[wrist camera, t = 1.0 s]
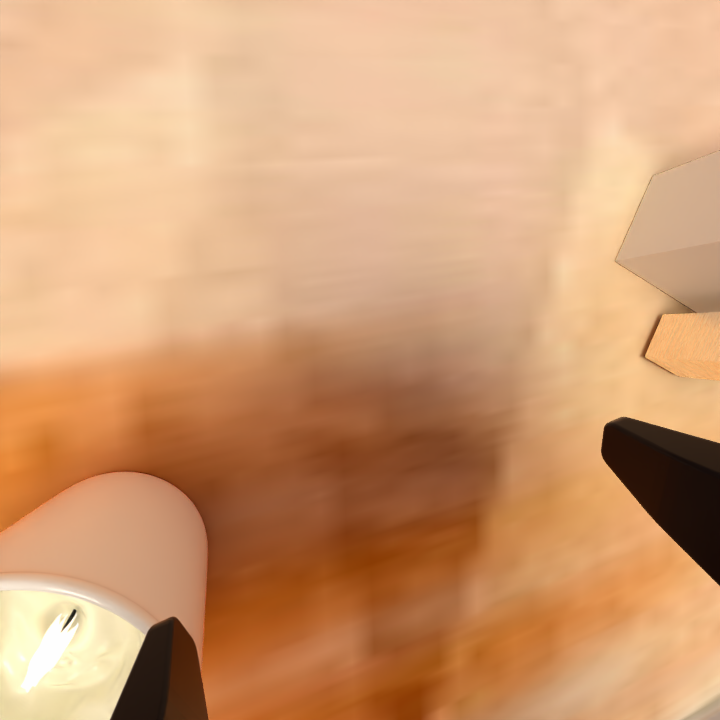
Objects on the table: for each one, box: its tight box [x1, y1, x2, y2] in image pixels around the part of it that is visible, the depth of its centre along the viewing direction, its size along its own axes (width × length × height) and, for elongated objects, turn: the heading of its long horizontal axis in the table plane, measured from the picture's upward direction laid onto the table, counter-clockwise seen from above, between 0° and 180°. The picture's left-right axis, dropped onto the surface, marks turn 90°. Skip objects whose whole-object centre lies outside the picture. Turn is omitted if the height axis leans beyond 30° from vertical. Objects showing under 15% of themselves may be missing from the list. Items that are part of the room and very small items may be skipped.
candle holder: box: [0, 472, 208, 720], centre depth 17 cm, size 10×10×12 cm
